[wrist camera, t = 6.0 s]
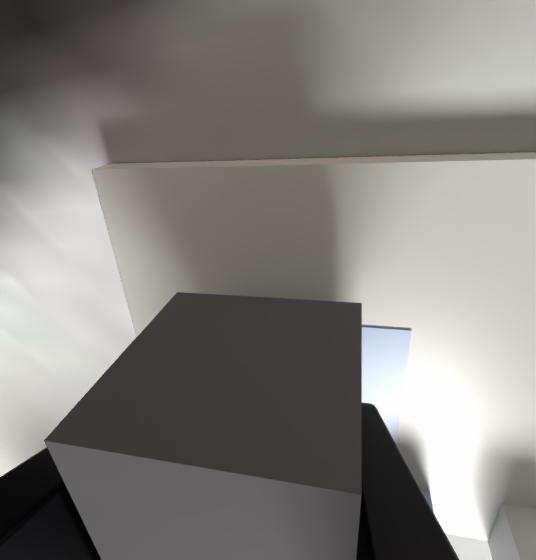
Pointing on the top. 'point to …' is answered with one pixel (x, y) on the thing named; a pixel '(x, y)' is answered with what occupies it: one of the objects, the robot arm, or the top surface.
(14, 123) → the top surface
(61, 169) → the top surface
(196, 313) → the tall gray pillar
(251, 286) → the miniature room diorama
